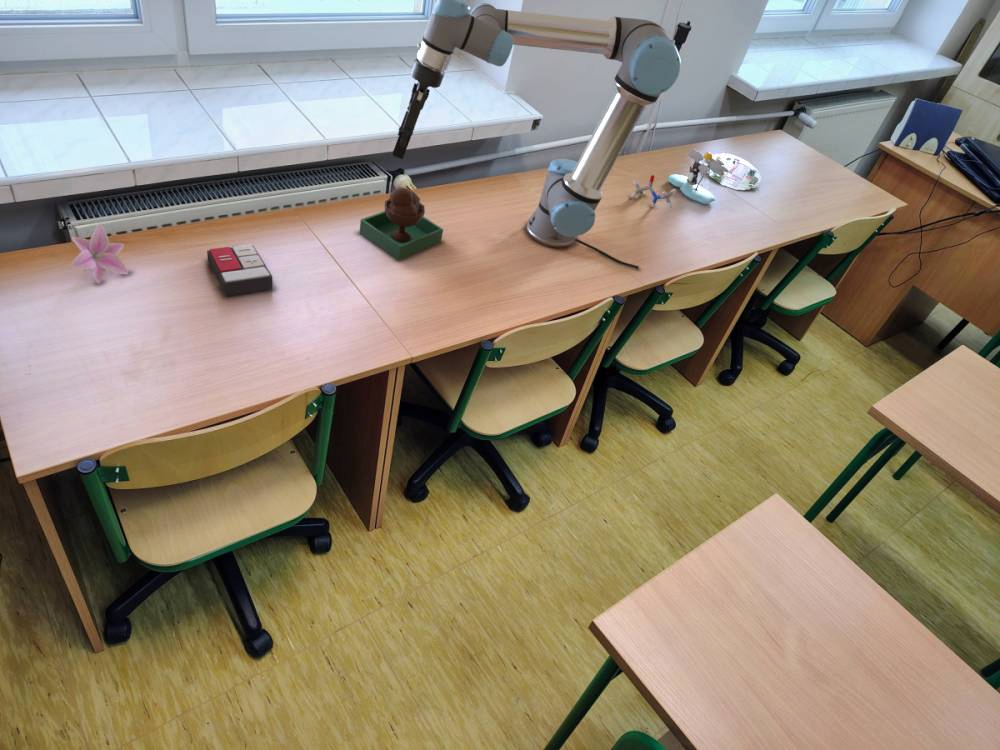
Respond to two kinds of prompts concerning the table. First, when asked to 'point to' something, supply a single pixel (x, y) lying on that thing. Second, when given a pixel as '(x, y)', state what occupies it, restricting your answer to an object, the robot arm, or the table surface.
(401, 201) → the ice cream bowl
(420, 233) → the bin
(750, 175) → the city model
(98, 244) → the lily
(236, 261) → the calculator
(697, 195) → the figurine on stand
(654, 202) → the molecular model
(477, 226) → the table surface
